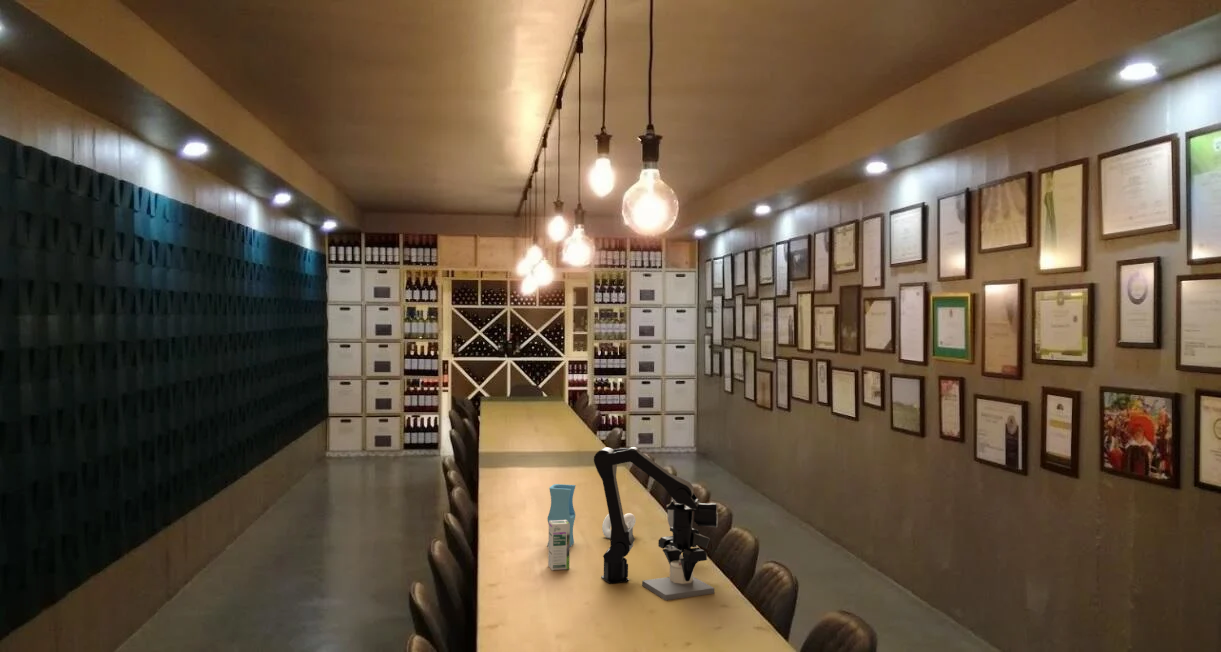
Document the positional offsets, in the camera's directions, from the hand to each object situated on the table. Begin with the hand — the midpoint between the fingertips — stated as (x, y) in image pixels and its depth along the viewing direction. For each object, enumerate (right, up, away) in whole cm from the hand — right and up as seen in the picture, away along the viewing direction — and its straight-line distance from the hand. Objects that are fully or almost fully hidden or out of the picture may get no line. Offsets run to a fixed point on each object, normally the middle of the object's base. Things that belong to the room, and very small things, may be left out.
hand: (681, 577), depth 246 cm
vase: (-38, -2, +43) cm, 57 cm away
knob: (0, -1, 0) cm, 1 cm away
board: (-1, -2, -4) cm, 5 cm away
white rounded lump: (-19, -2, +53) cm, 56 cm away
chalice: (0, -2, +25) cm, 25 cm away
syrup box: (-37, -2, +15) cm, 40 cm away
